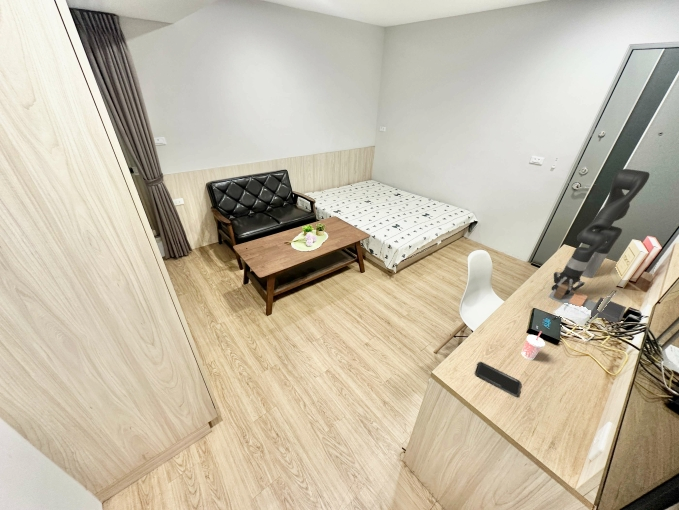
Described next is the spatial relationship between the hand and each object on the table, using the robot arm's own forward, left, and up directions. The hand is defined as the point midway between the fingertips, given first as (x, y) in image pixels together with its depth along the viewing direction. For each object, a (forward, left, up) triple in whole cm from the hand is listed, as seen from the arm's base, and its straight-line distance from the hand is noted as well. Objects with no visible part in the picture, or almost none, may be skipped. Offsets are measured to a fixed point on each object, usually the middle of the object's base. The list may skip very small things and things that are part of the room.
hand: (561, 292), depth 144 cm
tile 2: (+3, +8, -1) cm, 8 cm away
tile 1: (-3, +8, -1) cm, 8 cm away
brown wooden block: (0, 0, 0) cm, 0 cm away
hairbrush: (-16, -3, -3) cm, 17 cm away
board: (0, +6, -3) cm, 6 cm away
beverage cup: (+60, +5, -3) cm, 60 cm away
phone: (+82, +2, -3) cm, 82 cm away
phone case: (+25, +12, -3) cm, 28 cm away
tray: (0, +20, -3) cm, 20 cm away
